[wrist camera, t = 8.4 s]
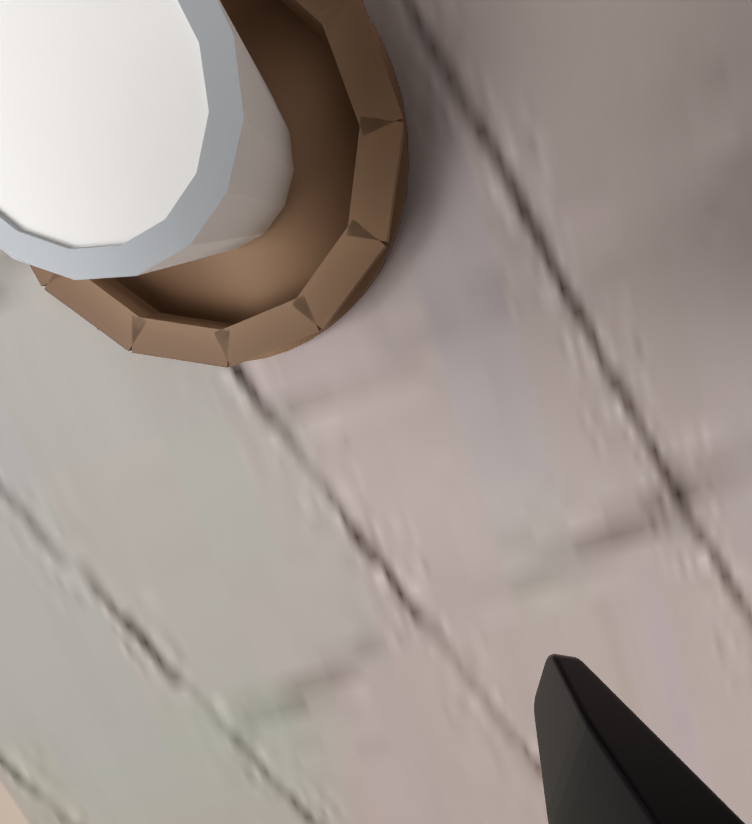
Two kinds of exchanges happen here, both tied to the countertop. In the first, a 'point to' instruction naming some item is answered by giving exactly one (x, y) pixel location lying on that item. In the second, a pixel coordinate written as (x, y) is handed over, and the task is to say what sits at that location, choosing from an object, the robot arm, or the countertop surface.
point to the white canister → (133, 136)
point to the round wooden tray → (304, 209)
